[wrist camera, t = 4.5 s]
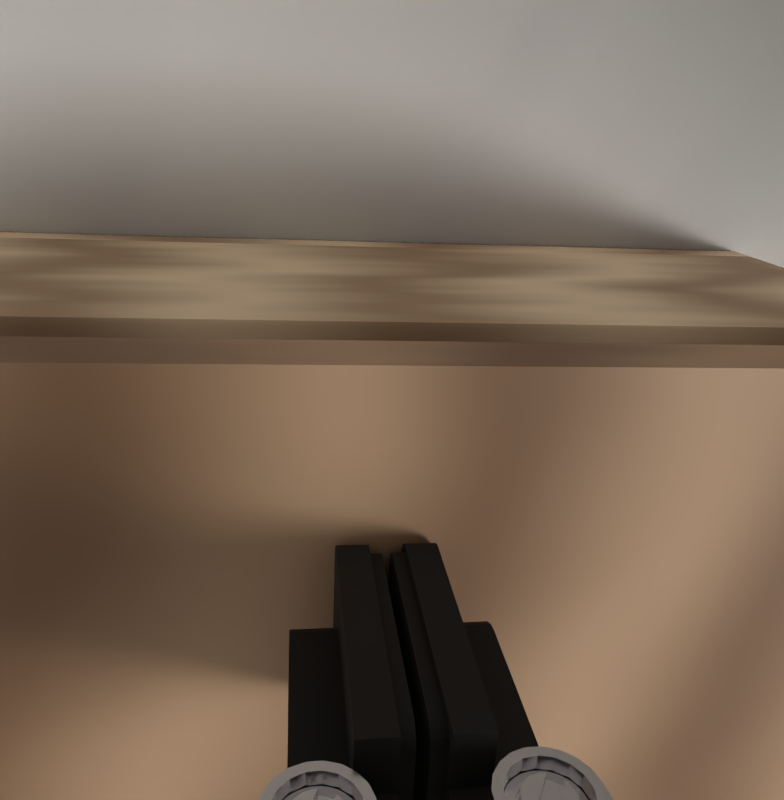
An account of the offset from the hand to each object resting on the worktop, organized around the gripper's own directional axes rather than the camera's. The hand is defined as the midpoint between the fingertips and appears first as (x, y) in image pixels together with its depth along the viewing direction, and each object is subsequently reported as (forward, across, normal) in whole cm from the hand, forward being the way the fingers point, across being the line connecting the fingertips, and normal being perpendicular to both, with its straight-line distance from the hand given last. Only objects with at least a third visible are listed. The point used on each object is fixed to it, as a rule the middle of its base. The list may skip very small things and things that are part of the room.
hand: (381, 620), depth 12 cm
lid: (+1, -1, +3) cm, 4 cm away
